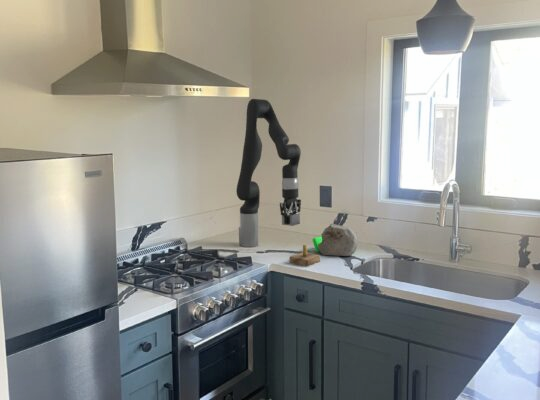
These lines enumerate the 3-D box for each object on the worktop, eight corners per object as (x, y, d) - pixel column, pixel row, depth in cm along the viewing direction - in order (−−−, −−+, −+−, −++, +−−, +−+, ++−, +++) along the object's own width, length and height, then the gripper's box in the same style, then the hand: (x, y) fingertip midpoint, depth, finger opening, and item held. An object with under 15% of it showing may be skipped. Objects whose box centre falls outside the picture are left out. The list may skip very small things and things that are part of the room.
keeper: (289, 263, 249) (289, 245, 248) (302, 258, 257) (302, 241, 256) (307, 266, 243) (307, 249, 242) (320, 261, 251) (320, 244, 250)
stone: (358, 254, 263) (359, 224, 260) (355, 258, 256) (356, 227, 254) (320, 251, 269) (320, 222, 267) (317, 255, 262) (317, 224, 260)
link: (282, 224, 256) (281, 214, 255) (289, 222, 260) (289, 212, 260) (292, 225, 252) (292, 215, 251) (299, 223, 257) (299, 213, 256)
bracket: (342, 252, 283) (338, 239, 286) (352, 246, 275) (347, 233, 277) (309, 257, 274) (305, 243, 276) (318, 251, 266) (314, 237, 268)
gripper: (292, 185, 261) (293, 219, 264) (274, 188, 250) (275, 224, 253) (305, 186, 257) (306, 221, 259) (287, 189, 246) (288, 226, 248)
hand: (290, 222), depth 256 cm, fingers closed on link, 6 cm apart
